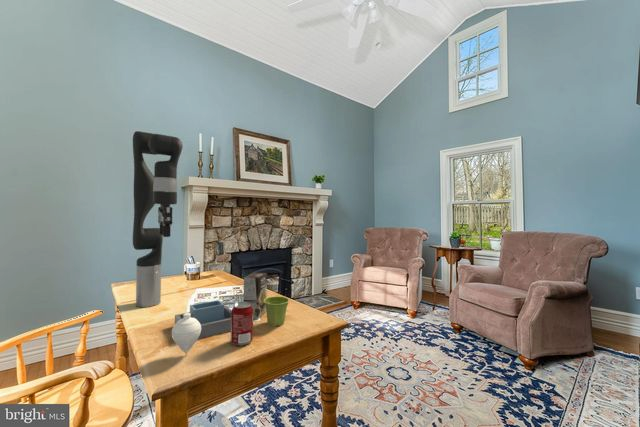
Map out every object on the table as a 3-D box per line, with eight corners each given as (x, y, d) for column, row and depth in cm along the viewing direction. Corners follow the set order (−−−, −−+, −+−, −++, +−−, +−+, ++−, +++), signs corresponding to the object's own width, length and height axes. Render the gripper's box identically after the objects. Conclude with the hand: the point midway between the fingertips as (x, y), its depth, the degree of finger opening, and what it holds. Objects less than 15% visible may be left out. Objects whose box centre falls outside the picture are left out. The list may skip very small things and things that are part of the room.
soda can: (253, 345, 86) (253, 307, 86) (230, 348, 84) (230, 308, 84) (252, 336, 92) (252, 300, 92) (230, 338, 90) (231, 301, 90)
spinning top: (195, 362, 76) (195, 318, 76) (166, 363, 75) (166, 319, 75) (204, 348, 83) (205, 308, 83) (178, 349, 83) (178, 309, 83)
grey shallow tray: (174, 326, 99) (174, 314, 99) (225, 315, 110) (225, 305, 110) (183, 342, 87) (183, 329, 87) (239, 328, 98) (239, 317, 98)
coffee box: (257, 320, 106) (258, 277, 106) (242, 318, 107) (243, 276, 107) (267, 311, 115) (267, 272, 115) (252, 310, 116) (253, 271, 116)
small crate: (189, 324, 98) (189, 305, 98) (218, 318, 104) (218, 300, 104) (193, 330, 93) (194, 310, 93) (223, 323, 99) (224, 304, 99)
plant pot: (273, 316, 110) (273, 294, 110) (293, 321, 106) (293, 298, 105) (257, 325, 101) (258, 301, 101) (279, 330, 97) (279, 305, 97)
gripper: (151, 191, 103) (150, 234, 104) (156, 189, 92) (155, 238, 92) (173, 192, 108) (172, 234, 108) (180, 190, 97) (180, 237, 97)
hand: (164, 235), depth 100 cm, fingers open, 8 cm apart
